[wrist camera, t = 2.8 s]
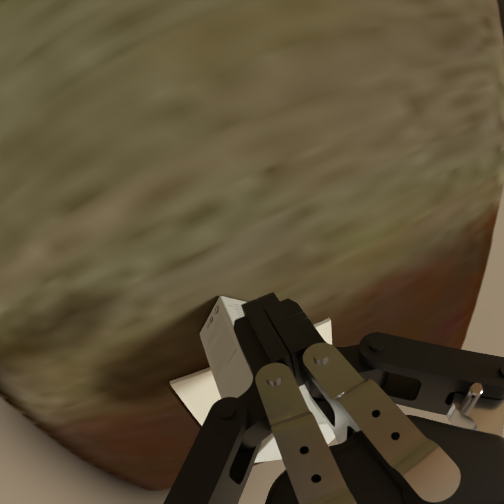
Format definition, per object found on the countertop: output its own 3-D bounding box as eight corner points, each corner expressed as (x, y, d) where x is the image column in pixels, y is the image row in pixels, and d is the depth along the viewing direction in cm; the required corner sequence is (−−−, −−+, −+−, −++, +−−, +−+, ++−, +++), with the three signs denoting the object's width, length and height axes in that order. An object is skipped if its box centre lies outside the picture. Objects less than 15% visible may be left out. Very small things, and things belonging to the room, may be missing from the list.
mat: (169, 381, 27) (170, 384, 27) (328, 317, 30) (330, 320, 29) (209, 433, 33) (210, 436, 33) (331, 383, 36) (333, 385, 36)
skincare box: (197, 334, 25) (242, 465, 15) (219, 293, 24) (280, 427, 14) (258, 344, 28) (317, 455, 18) (282, 308, 27) (356, 419, 17)
